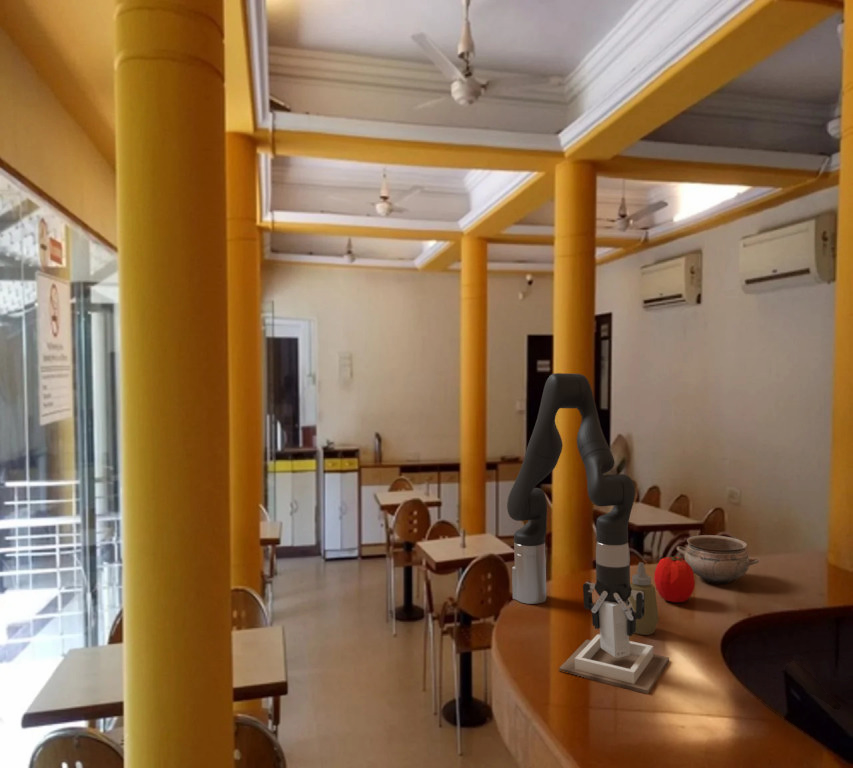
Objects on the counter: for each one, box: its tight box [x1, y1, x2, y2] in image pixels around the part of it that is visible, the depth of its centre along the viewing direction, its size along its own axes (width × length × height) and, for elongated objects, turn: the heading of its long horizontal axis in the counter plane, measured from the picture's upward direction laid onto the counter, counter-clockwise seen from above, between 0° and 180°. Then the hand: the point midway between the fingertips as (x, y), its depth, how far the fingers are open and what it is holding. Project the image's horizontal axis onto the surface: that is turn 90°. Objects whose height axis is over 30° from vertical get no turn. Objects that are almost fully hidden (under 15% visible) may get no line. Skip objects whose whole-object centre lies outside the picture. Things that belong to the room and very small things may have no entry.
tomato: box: [653, 555, 696, 603], centre depth 190 cm, size 12×12×13 cm
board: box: [558, 639, 670, 695], centre depth 150 cm, size 20×18×1 cm
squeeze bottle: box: [628, 561, 660, 636], centre depth 169 cm, size 8×8×18 cm
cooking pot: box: [676, 534, 760, 585], centre depth 207 cm, size 25×19×12 cm
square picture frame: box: [575, 633, 654, 684], centre depth 150 cm, size 13×15×2 cm
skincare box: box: [597, 597, 630, 658], centre depth 150 cm, size 6×4×12 cm
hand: (614, 631), depth 150 cm, fingers closed on skincare box, 7 cm apart
